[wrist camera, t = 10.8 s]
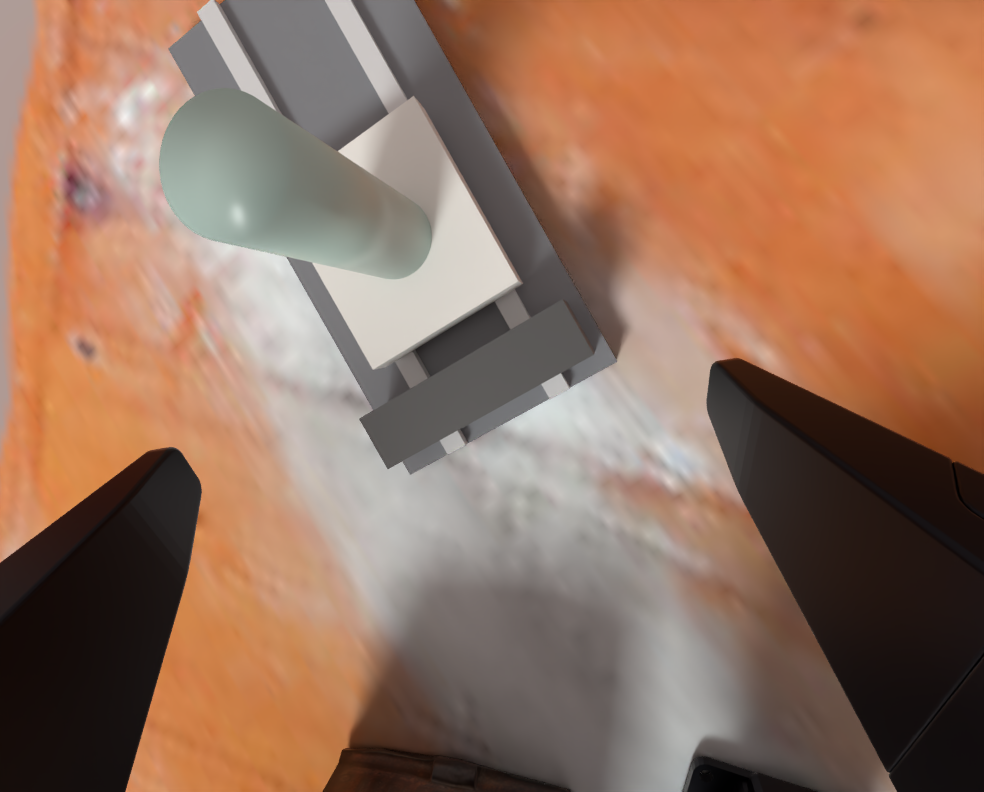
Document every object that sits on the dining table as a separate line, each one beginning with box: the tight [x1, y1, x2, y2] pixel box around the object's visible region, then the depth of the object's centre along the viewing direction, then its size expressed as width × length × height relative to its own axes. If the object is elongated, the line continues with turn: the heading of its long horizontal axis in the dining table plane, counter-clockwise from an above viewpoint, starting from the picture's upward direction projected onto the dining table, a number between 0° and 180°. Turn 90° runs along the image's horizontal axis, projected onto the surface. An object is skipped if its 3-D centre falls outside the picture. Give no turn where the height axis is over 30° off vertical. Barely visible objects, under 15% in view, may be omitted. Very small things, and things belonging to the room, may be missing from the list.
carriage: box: [159, 88, 523, 370], centre depth 16 cm, size 7×6×10 cm
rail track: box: [169, 0, 617, 475], centre depth 20 cm, size 19×9×4 cm, turn 30°
